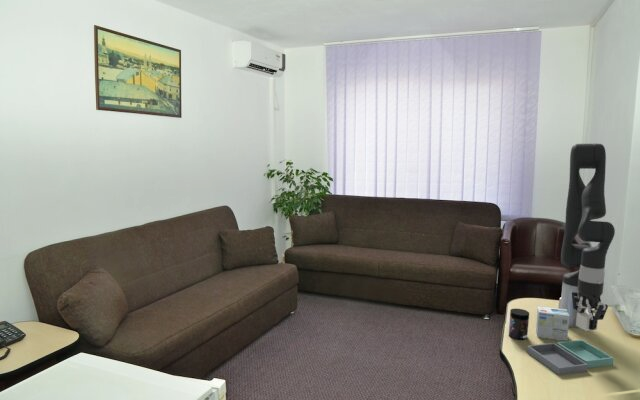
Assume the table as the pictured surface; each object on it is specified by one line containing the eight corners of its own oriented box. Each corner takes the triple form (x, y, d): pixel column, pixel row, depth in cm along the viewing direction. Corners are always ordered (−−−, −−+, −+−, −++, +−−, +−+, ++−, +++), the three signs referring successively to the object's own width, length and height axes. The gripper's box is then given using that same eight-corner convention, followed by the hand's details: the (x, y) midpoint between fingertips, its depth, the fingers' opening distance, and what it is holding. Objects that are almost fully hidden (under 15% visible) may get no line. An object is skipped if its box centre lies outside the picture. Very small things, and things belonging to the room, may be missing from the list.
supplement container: (514, 332, 185) (516, 307, 183) (531, 338, 179) (533, 312, 177) (504, 336, 181) (506, 310, 179) (520, 343, 175) (522, 316, 174)
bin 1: (526, 353, 167) (527, 345, 167) (553, 350, 170) (553, 342, 169) (558, 376, 152) (559, 368, 151) (587, 373, 154) (588, 364, 154)
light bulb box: (564, 335, 182) (567, 309, 181) (567, 342, 176) (570, 315, 174) (534, 331, 186) (536, 305, 184) (536, 338, 179) (538, 311, 178)
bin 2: (555, 350, 170) (556, 342, 169) (581, 347, 172) (582, 339, 172) (585, 369, 156) (586, 361, 156) (613, 366, 159) (613, 357, 158)
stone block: (575, 325, 164) (577, 313, 164) (586, 324, 165) (587, 312, 165) (585, 330, 160) (586, 318, 159) (596, 329, 161) (598, 317, 160)
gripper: (566, 273, 166) (562, 319, 169) (598, 286, 152) (593, 336, 155) (584, 271, 168) (580, 317, 170) (617, 284, 154) (612, 334, 156)
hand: (586, 326), depth 162 cm, fingers closed on stone block, 4 cm apart
